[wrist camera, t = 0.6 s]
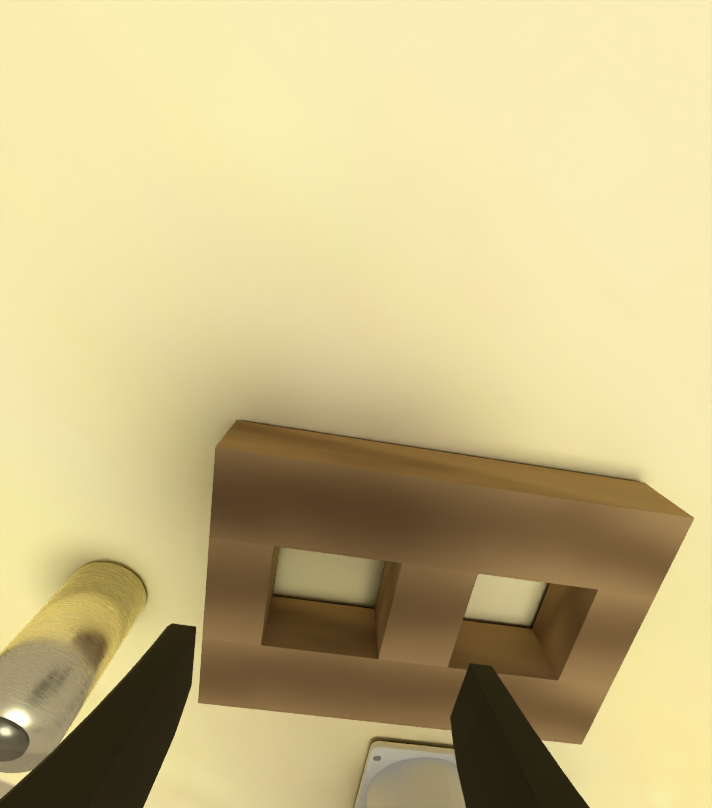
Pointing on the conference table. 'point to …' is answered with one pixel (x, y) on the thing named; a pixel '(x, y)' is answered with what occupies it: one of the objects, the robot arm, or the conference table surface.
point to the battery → (62, 660)
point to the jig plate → (423, 579)
